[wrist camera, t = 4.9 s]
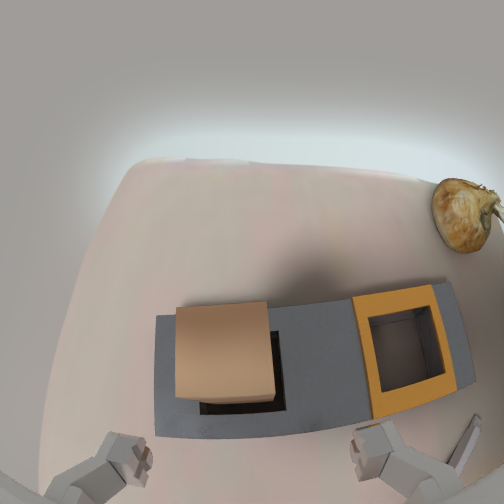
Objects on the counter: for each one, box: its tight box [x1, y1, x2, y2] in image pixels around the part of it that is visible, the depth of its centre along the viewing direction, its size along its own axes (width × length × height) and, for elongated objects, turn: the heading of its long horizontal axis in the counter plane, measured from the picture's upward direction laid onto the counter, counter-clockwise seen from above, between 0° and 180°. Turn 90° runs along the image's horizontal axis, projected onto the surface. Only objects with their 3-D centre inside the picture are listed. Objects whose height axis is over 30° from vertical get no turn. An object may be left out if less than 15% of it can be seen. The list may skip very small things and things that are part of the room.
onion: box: [432, 178, 504, 253], centre depth 22 cm, size 8×8×8 cm
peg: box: [175, 301, 275, 405], centre depth 15 cm, size 4×4×10 cm
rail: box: [154, 282, 476, 439], centre depth 18 cm, size 9×24×3 cm, turn 94°
